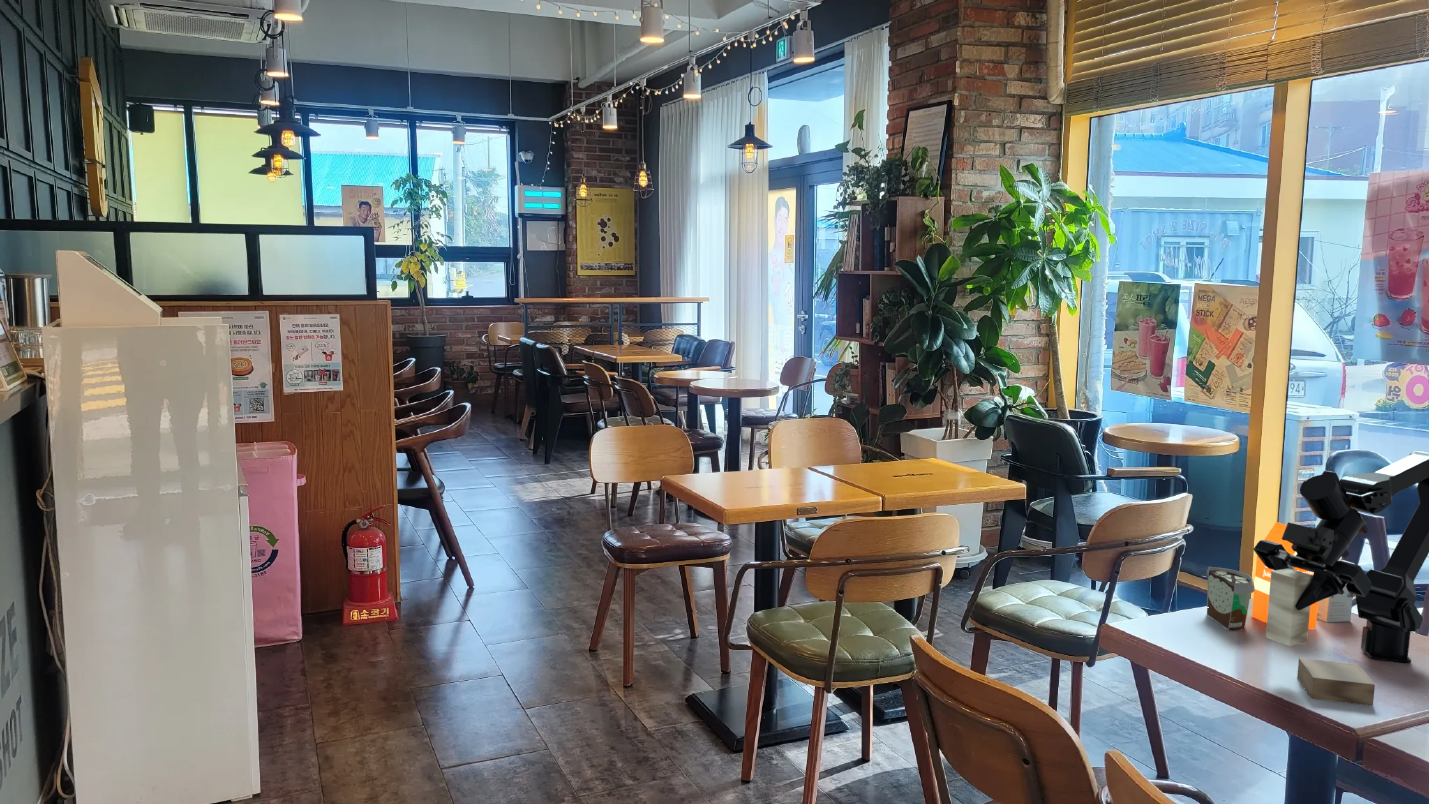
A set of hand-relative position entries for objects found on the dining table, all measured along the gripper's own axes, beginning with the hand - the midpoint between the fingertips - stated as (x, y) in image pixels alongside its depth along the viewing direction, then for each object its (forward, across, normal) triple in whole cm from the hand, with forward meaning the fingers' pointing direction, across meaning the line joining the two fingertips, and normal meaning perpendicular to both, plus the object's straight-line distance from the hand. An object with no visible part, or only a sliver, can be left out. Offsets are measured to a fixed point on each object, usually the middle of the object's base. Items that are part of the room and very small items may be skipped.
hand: (1284, 604), depth 173 cm
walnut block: (+7, +7, +13) cm, 16 cm away
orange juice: (-10, -20, +30) cm, 37 cm away
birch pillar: (+4, 0, +6) cm, 7 cm away
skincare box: (-18, -18, +38) cm, 45 cm away
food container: (-3, -23, +22) cm, 32 cm away
